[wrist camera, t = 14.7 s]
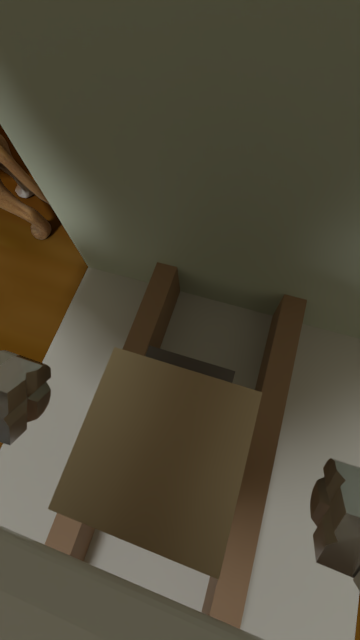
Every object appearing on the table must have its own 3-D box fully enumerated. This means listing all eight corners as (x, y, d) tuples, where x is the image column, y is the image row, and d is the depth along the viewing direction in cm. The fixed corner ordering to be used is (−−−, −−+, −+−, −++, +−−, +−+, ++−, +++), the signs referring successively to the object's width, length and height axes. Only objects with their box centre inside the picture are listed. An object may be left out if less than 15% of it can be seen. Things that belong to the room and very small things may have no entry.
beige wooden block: (131, 476, 14) (47, 508, 6) (161, 390, 16) (120, 331, 8) (208, 504, 14) (218, 579, 6) (232, 413, 15) (266, 374, 7)
